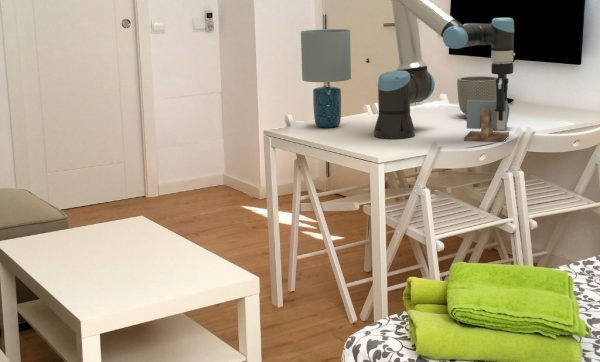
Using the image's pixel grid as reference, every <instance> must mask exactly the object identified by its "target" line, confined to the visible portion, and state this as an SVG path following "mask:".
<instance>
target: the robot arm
mask: <svg viewBox="0 0 600 362" xmlns="http://www.w3.org/2000/svg"><path fill="white" fill-rule="evenodd" d="M390 1H391V5H392V15H393V22H394V29H395V37H396V45H397V53H398V61H399V65H398V66H397V67H396V70H392V71H386V72H383V73H381V74H380V75H379V76H378V82H377V83H378V84H377V90H378V91H377V93H378V94H377V95H378V98H377V99H378V101H377V102H378V103H377V104H378V105H377V106H378V115H377V119H376V122H375V126H374V128H373V129H374V130H373V136H374V137H376V138H380V139H390V140H391V139H393V140H394V139H396V140H397V139H406V138H411V137H415V135H416V128H415V125H414V123H413V119H412V117H411V104H415V103H421V102H423V101H426V100H427V99H429V98H430V97H431V96H432V95H433V92H434V90H435V86H436V84H435V82H436V81H435V78H434V76H433V74H431V72H429V71H428V65H427V63H425V62H424V61H423V55H422V50H421V49H422V47H421V40H420V33H419V32H420V31H419V24H418V23H419V22H418V19H419V20H420V21H421V22H422V23H424V25H426V26H427V27H429V28H430V29H432V31H433V32H435V33H436V34H438V36H440V37H441V38H442V41H443V43H444V45H445V46H446V47H447V48H449V49H455V50H457V49H462V48H466V47H474V46H491V59H490V60H491V62H492V63H491V66H490V67H491V74H492V75H497V77H498V79H496V110H495V111H497V129H504V130H503V131H506V130H505V111H504V110H505V109H504V108H505V101H508V88H509V87H508V85H509V78H508V77H507V75H512V74H513V73H514V63H513V62H514V57H515V56H516V53H515V52H514V48H515V47H514V46H515V45H514V43H515V42H514V41H515V40H514V39H515V38H514V37H515V22H514V19H513V18H512V17H494V18H493V19H492V20H491V22H490V23H474V22H470V23H469V22H468V23H464V24H462V23H461V22H459V21H458V20H456V19H455V18H454V17H453V16H452V15H450V14H449V13H447V12H446V11H445V10H444V9H443V8H441V7H440V6H439V5H437V4H436V3H435V2H433V0H390ZM507 109H508V107H507Z"/></svg>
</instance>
